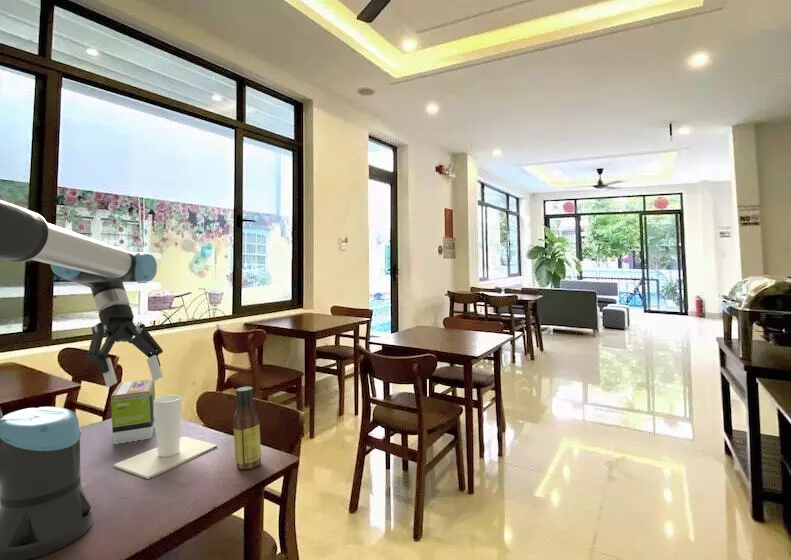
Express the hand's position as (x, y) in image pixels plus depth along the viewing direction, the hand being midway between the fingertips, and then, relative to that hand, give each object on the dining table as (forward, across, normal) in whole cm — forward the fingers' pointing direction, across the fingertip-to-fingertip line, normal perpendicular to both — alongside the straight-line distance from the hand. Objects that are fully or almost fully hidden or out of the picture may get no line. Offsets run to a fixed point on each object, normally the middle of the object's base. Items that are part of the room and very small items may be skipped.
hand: (136, 381), depth 109 cm
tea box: (+8, -18, -25) cm, 31 cm away
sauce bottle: (+31, -10, +15) cm, 36 cm away
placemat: (+20, -8, -6) cm, 22 cm away
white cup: (+20, -8, -5) cm, 22 cm away
